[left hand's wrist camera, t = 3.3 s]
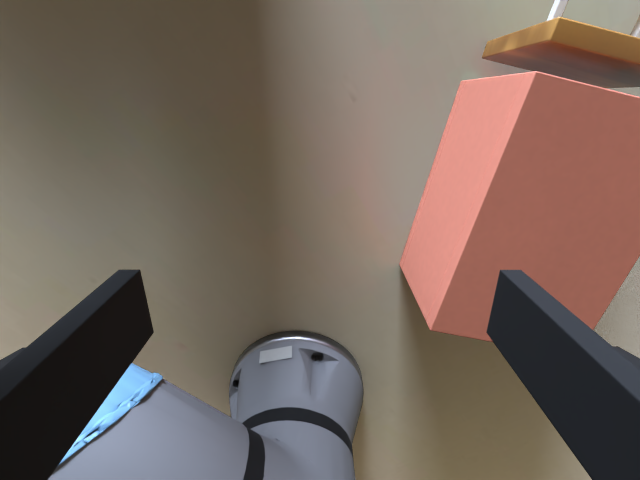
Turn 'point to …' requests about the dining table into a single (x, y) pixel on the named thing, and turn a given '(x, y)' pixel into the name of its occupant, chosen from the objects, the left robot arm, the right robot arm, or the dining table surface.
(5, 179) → the dining table surface
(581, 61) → the drawer
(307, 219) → the dining table surface
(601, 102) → the cabinet
